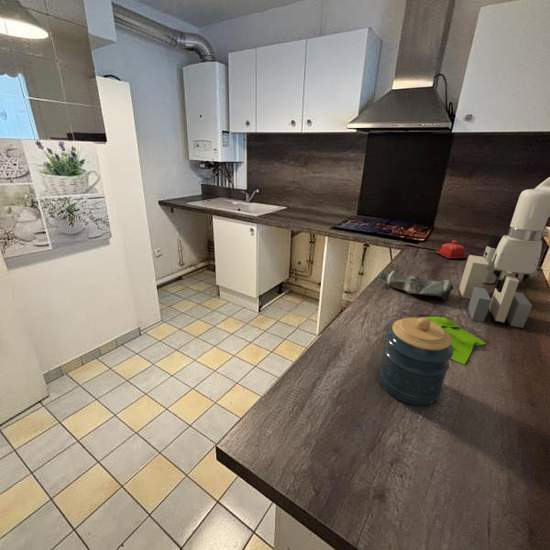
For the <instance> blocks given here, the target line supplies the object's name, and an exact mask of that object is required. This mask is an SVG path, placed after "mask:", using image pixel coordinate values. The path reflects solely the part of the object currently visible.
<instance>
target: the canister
mask: <svg viewBox="0 0 550 550" xmlns="http://www.w3.org/2000/svg"><path fill="white" fill-rule="evenodd" d="M425 317H426V316H421V317H415V316H414V317H412V316H411V317H406V318H400V319H398V320H396V321H395V322H393V324H392V326H391V328H390V329H388V331H387V332H386V342H385V343H384V346H383V354H382V355H383V356H382V360H381V364H380V366H379V375H378V376H379V382H380V384H381V386H382V388H383V389H384V390H385V391H386V392H387V393H388V394H389V395H390V396H391V397H393V398H395V399H397V400H398V401H400V402H403V403H406V404H408V405H412V406H413V405H414V406H428V405H431V404H433V403H435V402H436V401H437V400H438V398H439V397H440V395H441V393H442V389H443V383H444V381H445V378H446V374H447V372H448V370H449V368H450V361H449V360H451V359H450V358H451V357H452V356H453V348H452V346H451V342H452V340H451V337H450V335H449V334H448V333H447V332H446V331H445V330H444V329H442V328H441V327H440V326H439V325H437V324H436V323H434V322H432V321H429V319H427V318H425Z"/></svg>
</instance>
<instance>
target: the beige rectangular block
mask: <svg viewBox="0 0 550 550" xmlns="http://www.w3.org/2000/svg"><path fill="white" fill-rule="evenodd" d="M488 265H489V264H488V262H487V261H486V259H485V258H484V257H483V256H479V255H471V254H469V255H468V257H467V260H466V264H465V267H464V271H463V274H462V277H461V281H460V284H459V287H458V289H459V292H460V295H461V298H462V299H466V300H467V299H468V300H470V299H471V295H472V292H473V289H474V287H478V288H483V285H484V283H483V282H484V279H485V276H486V273H487V268H486V267H487V266H488Z"/></svg>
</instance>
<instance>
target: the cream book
mask: <svg viewBox="0 0 550 550" xmlns="http://www.w3.org/2000/svg"><path fill="white" fill-rule="evenodd" d="M504 281H505V282H504V285H503V288H502V291H501V292H498V291H497V289H496V288H495V287H494V292H493V294H492V297H491V303H490V306H489V308H488V310H489V311H490V313H491V315H492V317H493V319H494V321H495V322H499V323H505V321H506V320H507V318H506V316H507V314H508V311H509V308H510V305H511V303H512V300H513V297H514V294H515V292H517V290H518V287H519V285H518V283H519V281H518V279H517V278H516V277H515V276H514V274H513V273H512V272H509V271H506V274H505V276H504ZM519 284H520V283H519ZM517 286H518V287H517ZM516 289H517V290H516Z"/></svg>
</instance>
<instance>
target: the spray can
mask: <svg viewBox="0 0 550 550" xmlns="http://www.w3.org/2000/svg"><path fill="white" fill-rule="evenodd" d="M503 236H507V234H505V233H500V232H492V233H490V235H489V238H488V241H487V244H486V247H485V250H484V253H483V256H482V257H484V258H485V259H486V261H487V262H488V264H490V263H491V262H492V259H493V256H494V254H495V251H496V249H497V247H498V244H499V242H500V241H501V239H502V237H503ZM494 268H495V267H494ZM495 269H496V268H495ZM497 278H498V277H497V276H496V275H495V274H494V273H493V272H491V271H489V270H487V273H486V276H485V279H484V282H483V284H487V285H490V284H491V285H492V284H494V283H496V281H497Z"/></svg>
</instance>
